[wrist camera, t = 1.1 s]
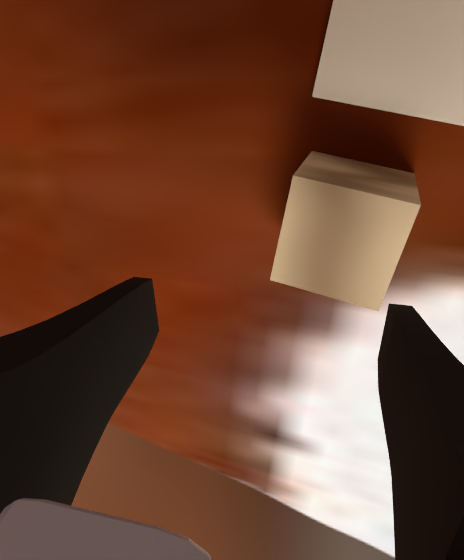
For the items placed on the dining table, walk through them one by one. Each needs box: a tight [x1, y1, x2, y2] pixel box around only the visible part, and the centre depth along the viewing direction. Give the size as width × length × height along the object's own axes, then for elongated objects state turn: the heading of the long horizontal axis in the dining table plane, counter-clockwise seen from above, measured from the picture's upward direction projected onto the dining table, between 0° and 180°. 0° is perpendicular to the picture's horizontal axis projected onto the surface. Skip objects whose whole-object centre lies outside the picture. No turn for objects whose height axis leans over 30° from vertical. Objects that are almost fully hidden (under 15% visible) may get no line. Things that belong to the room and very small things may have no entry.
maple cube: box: [270, 151, 421, 311], centre depth 20 cm, size 5×5×5 cm
